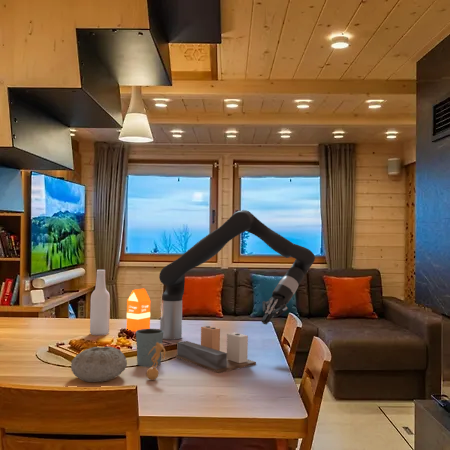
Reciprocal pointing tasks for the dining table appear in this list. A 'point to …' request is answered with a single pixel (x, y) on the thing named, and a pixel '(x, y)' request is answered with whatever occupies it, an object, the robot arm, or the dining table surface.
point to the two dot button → (210, 337)
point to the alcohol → (100, 307)
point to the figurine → (152, 371)
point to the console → (208, 357)
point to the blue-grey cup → (148, 346)
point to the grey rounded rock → (98, 364)
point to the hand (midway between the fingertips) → (263, 322)
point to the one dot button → (237, 347)
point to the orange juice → (138, 310)
